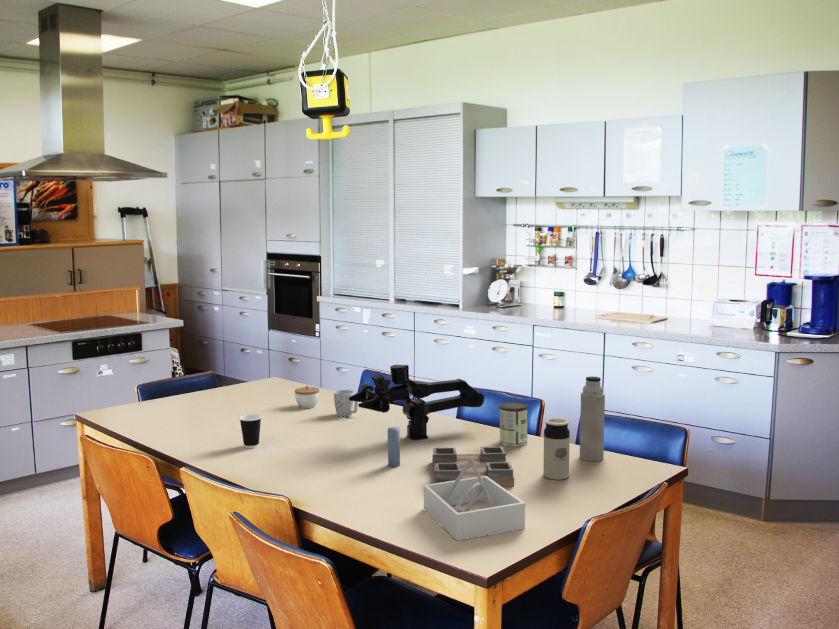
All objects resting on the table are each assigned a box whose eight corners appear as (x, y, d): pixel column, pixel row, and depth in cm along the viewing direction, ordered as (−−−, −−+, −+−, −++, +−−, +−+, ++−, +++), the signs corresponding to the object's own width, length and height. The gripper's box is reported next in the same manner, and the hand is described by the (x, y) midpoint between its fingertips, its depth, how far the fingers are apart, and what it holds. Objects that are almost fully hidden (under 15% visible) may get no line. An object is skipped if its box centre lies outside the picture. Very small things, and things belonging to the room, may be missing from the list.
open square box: (486, 498, 211) (486, 475, 210) (524, 528, 190) (525, 503, 189) (423, 509, 203) (423, 485, 203) (456, 541, 183) (456, 514, 182)
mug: (363, 415, 305) (363, 392, 304) (351, 419, 298) (351, 396, 297) (342, 411, 311) (342, 389, 310) (330, 416, 304) (329, 392, 303)
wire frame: (464, 554, 186) (418, 515, 193) (481, 544, 198) (438, 507, 204) (501, 498, 183) (454, 460, 190) (516, 491, 195) (471, 456, 202)
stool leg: (397, 462, 243) (397, 426, 242) (401, 466, 240) (401, 429, 238) (386, 464, 242) (385, 428, 241) (390, 467, 238) (389, 431, 237)
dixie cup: (265, 447, 262) (264, 417, 261) (244, 451, 258) (243, 421, 256) (257, 442, 268) (256, 413, 267) (237, 445, 264) (236, 416, 263)
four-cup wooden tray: (432, 461, 244) (432, 447, 243) (503, 460, 245) (503, 446, 244) (435, 487, 220) (435, 471, 220) (514, 486, 221) (514, 470, 220)
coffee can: (504, 437, 272) (504, 400, 270) (530, 440, 268) (531, 403, 266) (495, 444, 263) (495, 406, 261) (522, 448, 258) (523, 409, 257)
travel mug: (541, 471, 233) (542, 417, 231) (566, 471, 233) (567, 417, 231) (545, 480, 225) (546, 424, 223) (570, 480, 225) (571, 424, 223)
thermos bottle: (581, 453, 252) (582, 374, 249) (604, 455, 249) (606, 375, 246) (578, 460, 244) (579, 379, 241) (602, 462, 242) (604, 380, 238)
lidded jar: (299, 403, 327) (298, 383, 326) (322, 403, 325) (321, 383, 324) (292, 409, 316) (291, 388, 315) (315, 409, 315) (315, 388, 314)
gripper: (381, 367, 273) (342, 374, 266) (402, 379, 257) (362, 386, 250) (383, 395, 275) (345, 403, 269) (404, 408, 259) (364, 417, 252)
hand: (353, 402), depth 260 cm, fingers open, 9 cm apart
